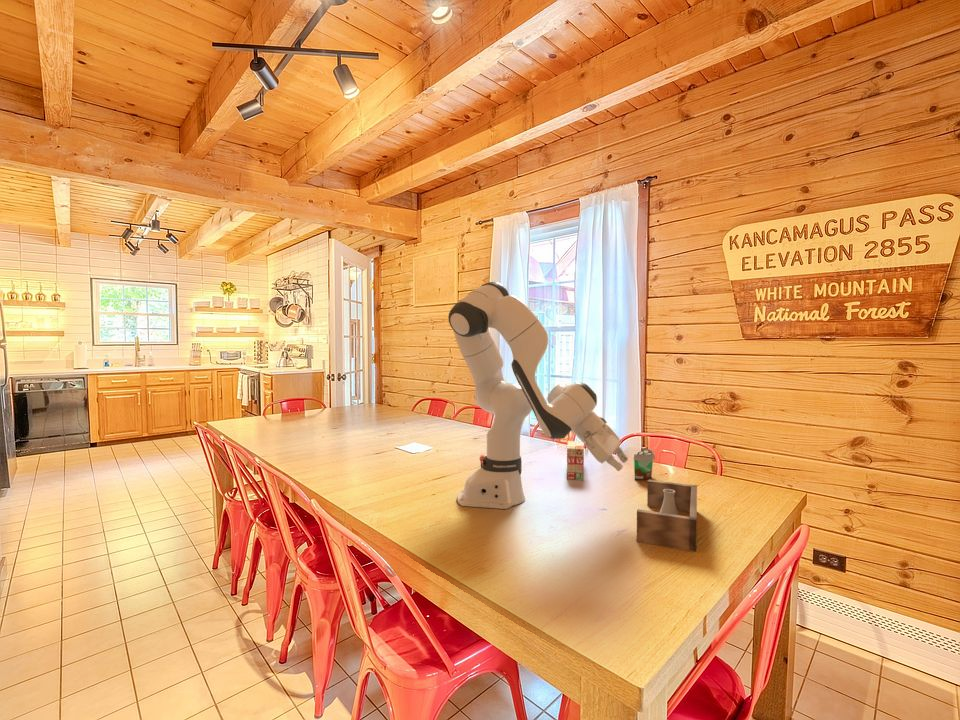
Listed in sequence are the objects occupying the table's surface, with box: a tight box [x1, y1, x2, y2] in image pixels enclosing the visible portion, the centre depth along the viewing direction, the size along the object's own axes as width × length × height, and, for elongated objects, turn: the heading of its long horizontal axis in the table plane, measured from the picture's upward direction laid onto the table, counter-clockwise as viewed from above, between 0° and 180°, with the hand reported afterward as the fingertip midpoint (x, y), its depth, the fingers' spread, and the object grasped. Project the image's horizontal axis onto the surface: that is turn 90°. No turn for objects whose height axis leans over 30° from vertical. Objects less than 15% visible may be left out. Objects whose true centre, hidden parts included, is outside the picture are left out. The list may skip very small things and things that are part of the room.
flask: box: [659, 489, 679, 515], centre depth 128 cm, size 7×7×10 cm
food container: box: [633, 447, 656, 482], centre depth 172 cm, size 12×6×10 cm, turn 148°
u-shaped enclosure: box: [636, 479, 698, 552], centre depth 128 cm, size 14×29×8 cm, turn 154°
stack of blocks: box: [566, 440, 585, 481], centre depth 181 cm, size 21×6×12 cm, turn 168°
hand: (623, 465), depth 133 cm, fingers open, 8 cm apart
